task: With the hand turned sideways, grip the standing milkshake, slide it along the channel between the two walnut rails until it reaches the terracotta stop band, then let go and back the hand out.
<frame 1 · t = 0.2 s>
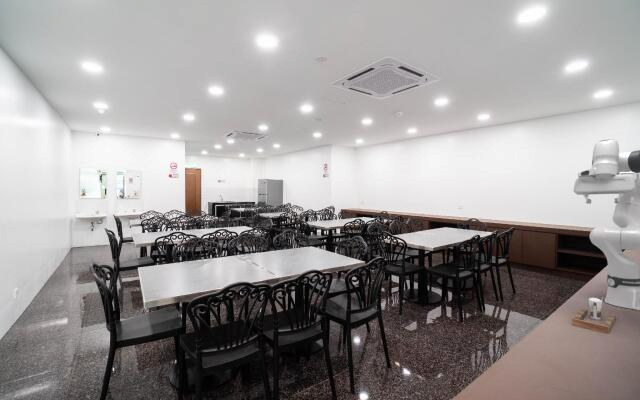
hand: (602, 203, 133), 52 cm above the counter, tool tilted 20°, fingers open, 8 cm apart
milkshake: (596, 319, 135), on the counter
rail guide: (593, 322, 131), on the counter
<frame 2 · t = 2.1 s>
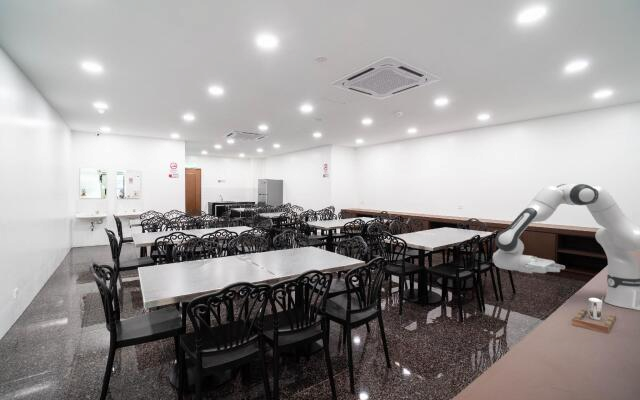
hand: (562, 268, 144), 20 cm above the counter, tool horizontal, fingers open, 8 cm apart
nothing on the counter moved.
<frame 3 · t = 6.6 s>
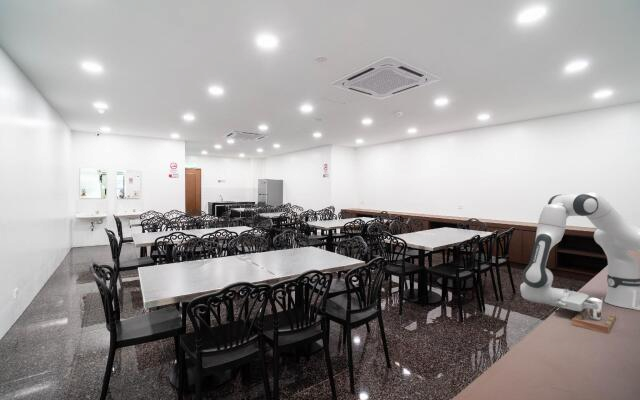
hand: (599, 305, 134), 6 cm above the counter, tool horizontal, fingers closed on milkshake, 4 cm apart
milkshake: (596, 319, 135), on the counter, touching gripper
when the fingers open (7 cm above the counter, at t = 11.5 s): milkshake moves 1 cm, on the counter.
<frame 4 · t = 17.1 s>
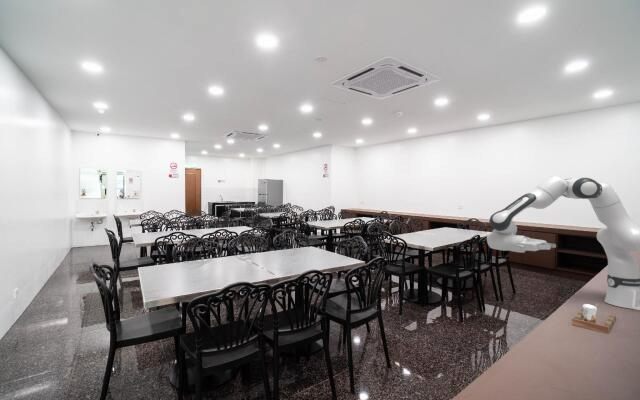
hand: (552, 246, 149), 30 cm above the counter, tool horizontal, fingers open, 8 cm apart
milkshake: (590, 327, 127), on the counter
at the end: milkshake 1.2 cm from the target spot, on the counter; milkshake tilted 0°; the gripper is holding nothing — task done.
